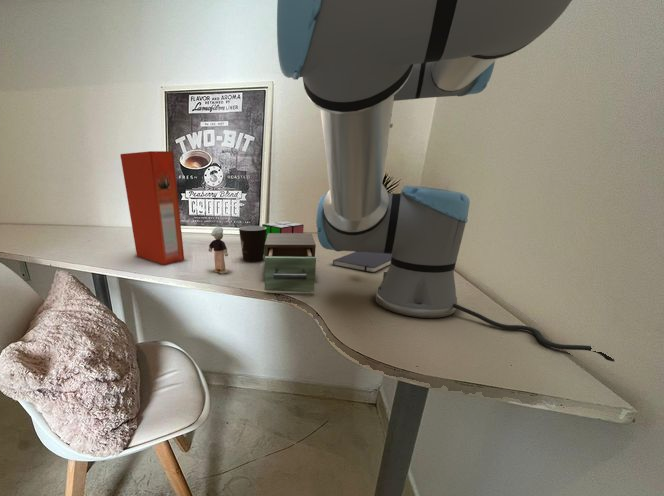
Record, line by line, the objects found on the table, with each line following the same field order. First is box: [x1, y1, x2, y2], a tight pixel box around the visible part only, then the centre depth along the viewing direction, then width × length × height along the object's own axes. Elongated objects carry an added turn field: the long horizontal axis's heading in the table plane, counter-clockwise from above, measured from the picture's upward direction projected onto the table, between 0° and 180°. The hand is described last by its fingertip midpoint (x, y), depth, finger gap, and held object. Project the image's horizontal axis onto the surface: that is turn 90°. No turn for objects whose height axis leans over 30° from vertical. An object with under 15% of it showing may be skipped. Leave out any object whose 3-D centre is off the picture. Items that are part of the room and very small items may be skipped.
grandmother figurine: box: [208, 226, 229, 275], centre depth 94 cm, size 8×4×13 cm, turn 56°
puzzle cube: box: [261, 220, 304, 255], centre depth 112 cm, size 10×10×10 cm
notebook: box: [332, 251, 392, 274], centre depth 102 cm, size 13×2×21 cm
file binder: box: [119, 150, 185, 266], centre depth 105 cm, size 8×17×32 cm, turn 44°
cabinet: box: [264, 232, 317, 257], centre depth 92 cm, size 16×13×10 cm
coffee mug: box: [238, 225, 267, 263], centre depth 107 cm, size 12×9×10 cm
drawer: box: [264, 248, 317, 292], centre depth 80 cm, size 20×11×8 cm, turn 173°
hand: (358, 244), depth 84 cm, fingers closed on block, 4 cm apart
